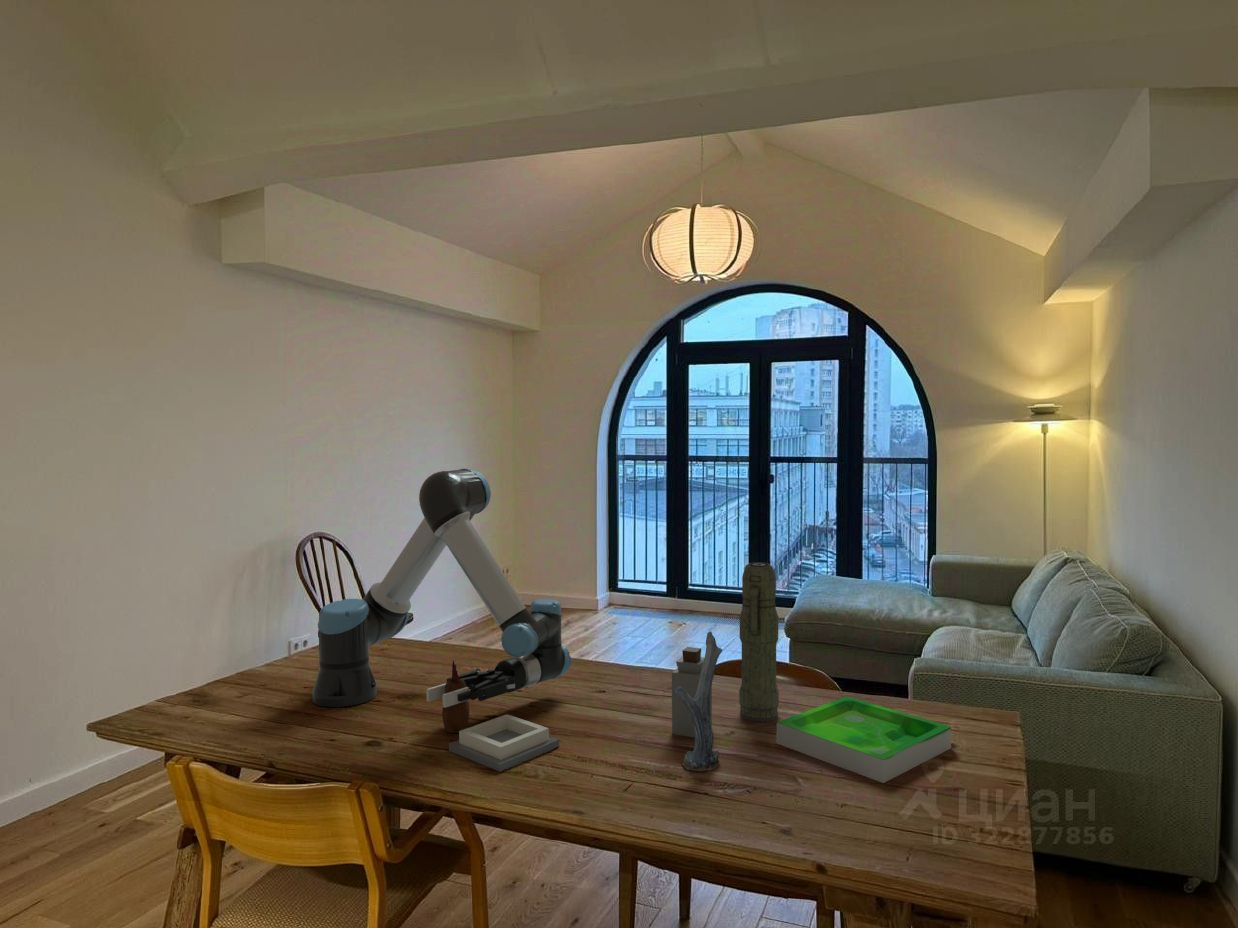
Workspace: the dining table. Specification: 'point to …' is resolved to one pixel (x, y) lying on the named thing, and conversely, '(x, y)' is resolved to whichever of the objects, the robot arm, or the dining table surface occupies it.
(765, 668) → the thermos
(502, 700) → the dining table surface
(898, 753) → the tray
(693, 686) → the perfume bottle
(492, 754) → the socket plinth
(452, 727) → the wooden figurine
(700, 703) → the antler
